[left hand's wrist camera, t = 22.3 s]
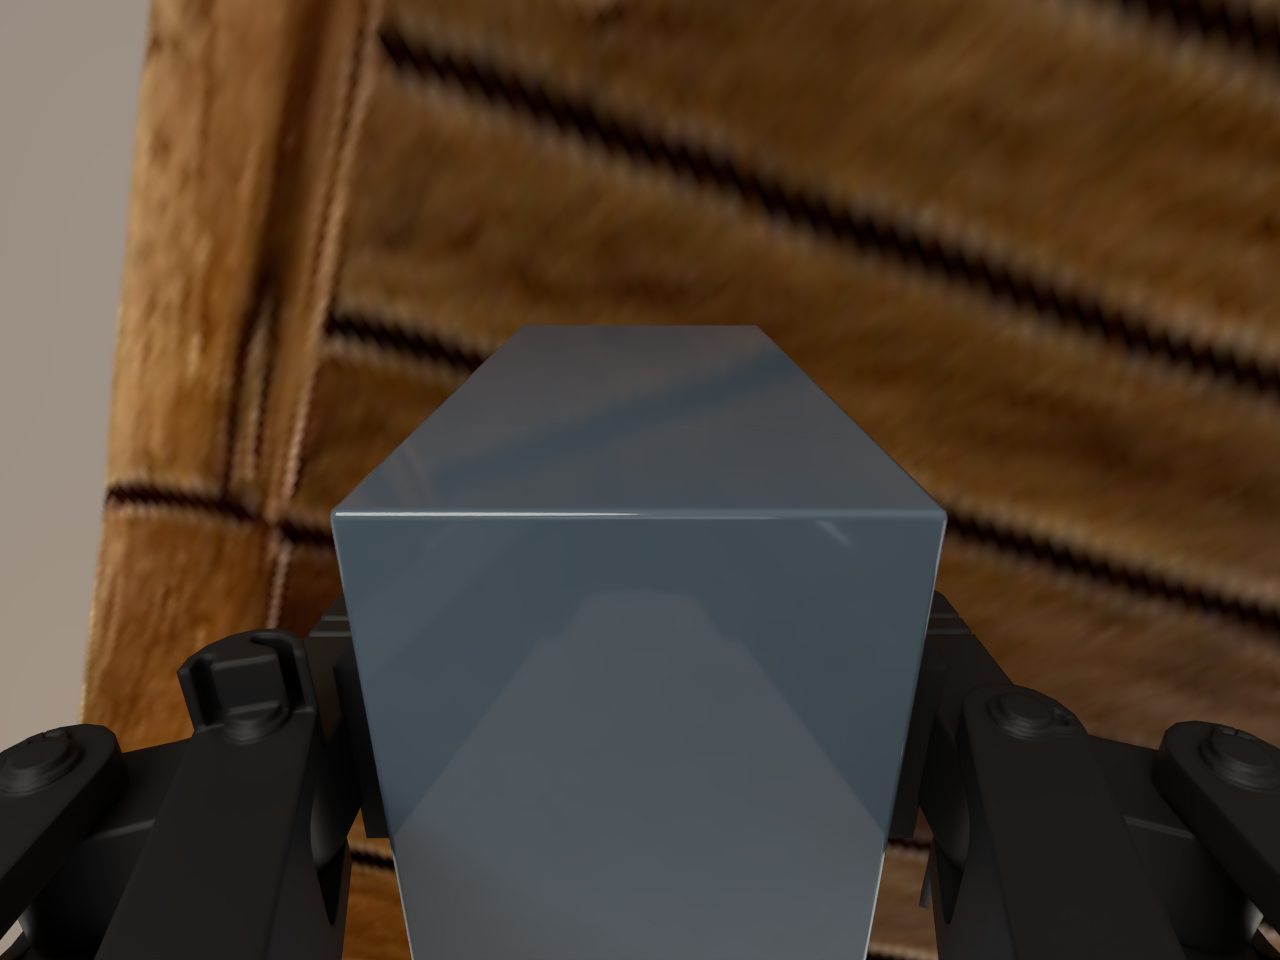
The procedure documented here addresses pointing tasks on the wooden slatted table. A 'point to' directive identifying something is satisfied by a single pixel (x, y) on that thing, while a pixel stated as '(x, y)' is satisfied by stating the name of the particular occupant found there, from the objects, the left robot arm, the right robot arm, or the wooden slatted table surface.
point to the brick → (638, 652)
